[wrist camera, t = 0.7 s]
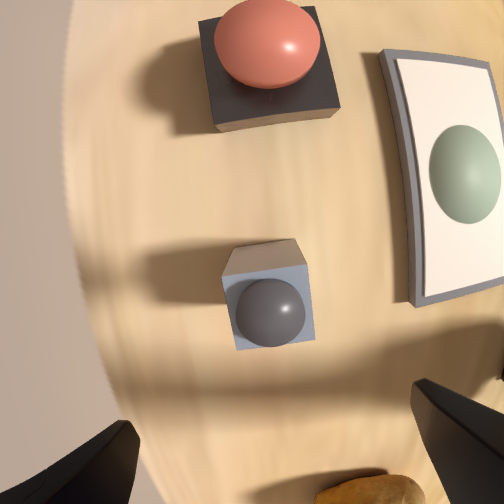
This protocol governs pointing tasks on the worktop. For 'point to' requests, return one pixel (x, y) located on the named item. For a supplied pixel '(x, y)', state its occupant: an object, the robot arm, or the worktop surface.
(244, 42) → the button
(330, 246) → the worktop surface
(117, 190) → the worktop surface
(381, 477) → the potato
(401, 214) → the worktop surface
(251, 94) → the button housing
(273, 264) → the grey rectangular block
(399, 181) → the worktop surface
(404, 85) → the drawing board
